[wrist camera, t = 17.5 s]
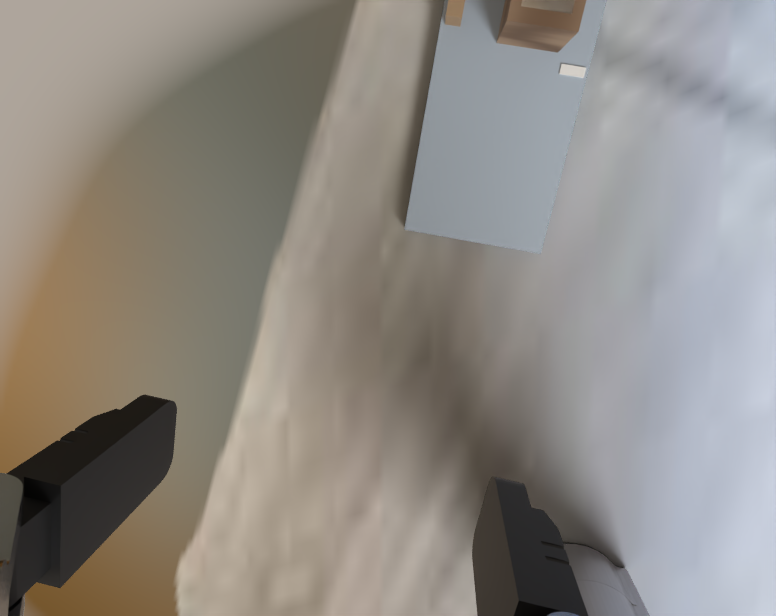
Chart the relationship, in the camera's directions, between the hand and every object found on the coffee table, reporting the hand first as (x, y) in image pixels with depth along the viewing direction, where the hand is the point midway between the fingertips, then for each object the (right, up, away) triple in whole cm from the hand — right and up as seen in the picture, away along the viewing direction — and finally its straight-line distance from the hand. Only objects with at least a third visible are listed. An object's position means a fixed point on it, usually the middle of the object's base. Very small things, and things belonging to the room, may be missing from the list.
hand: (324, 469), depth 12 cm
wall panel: (+10, +20, +20) cm, 30 cm away
